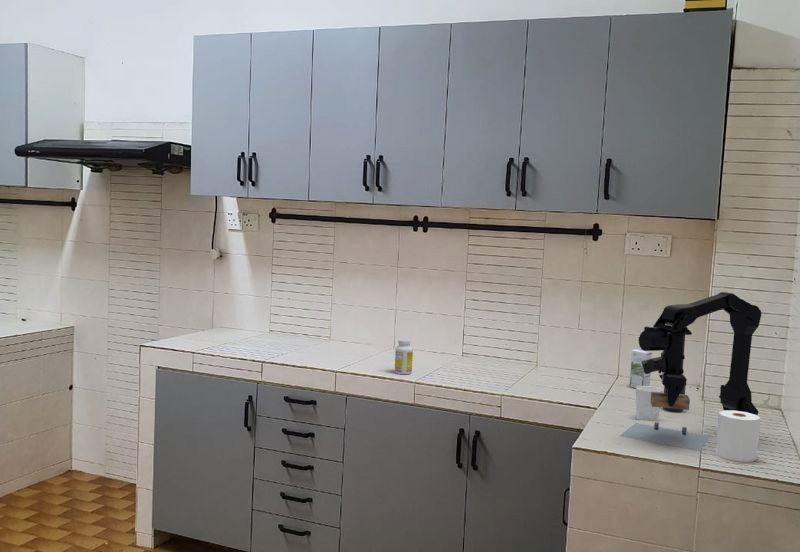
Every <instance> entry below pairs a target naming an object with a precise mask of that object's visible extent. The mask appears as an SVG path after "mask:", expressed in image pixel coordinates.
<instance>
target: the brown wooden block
mask: <svg viewBox="0 0 800 552" xmlns="http://www.w3.org/2000/svg"><path fill="white" fill-rule="evenodd" d="M690 401H691V399H690V397H689V395H688V394H685V395H683V394H679V396H678V398H677V400H676V401H675V403H674V405H673V406H669V404H668V395H667V393H664V392H662V393H661V392H651V405H652V407H660V408H662V409H663V408H673V409H684V410H686V411H689V410H690ZM684 410H683V411H684Z"/></svg>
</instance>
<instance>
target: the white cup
mask: <svg viewBox="0 0 800 552" xmlns="http://www.w3.org/2000/svg"><path fill="white" fill-rule="evenodd" d="M651 392H661V393H663V389H662V388H659V387H657V386H652V385H650V386H637V387H636V389H635V418H636V419H637V420H638V421H647V422H648V421H649V422H658V421H659V415H660V410H661V407H652V405H651Z"/></svg>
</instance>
